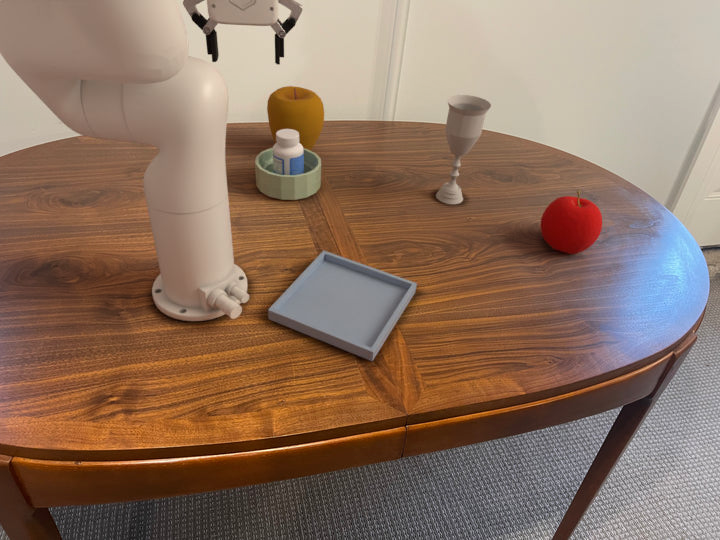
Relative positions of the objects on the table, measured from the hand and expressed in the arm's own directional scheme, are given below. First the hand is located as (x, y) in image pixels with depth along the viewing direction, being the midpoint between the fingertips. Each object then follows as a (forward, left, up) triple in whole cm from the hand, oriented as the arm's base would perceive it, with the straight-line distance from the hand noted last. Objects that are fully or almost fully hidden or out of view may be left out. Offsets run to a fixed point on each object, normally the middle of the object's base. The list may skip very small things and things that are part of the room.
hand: (246, 60), depth 84 cm
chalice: (-28, -23, -22) cm, 42 cm away
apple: (+4, -15, -22) cm, 27 cm away
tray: (-34, +13, -22) cm, 42 cm away
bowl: (-5, -4, -22) cm, 23 cm away
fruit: (-50, -24, -22) cm, 60 cm away
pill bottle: (-5, -4, -22) cm, 23 cm away
